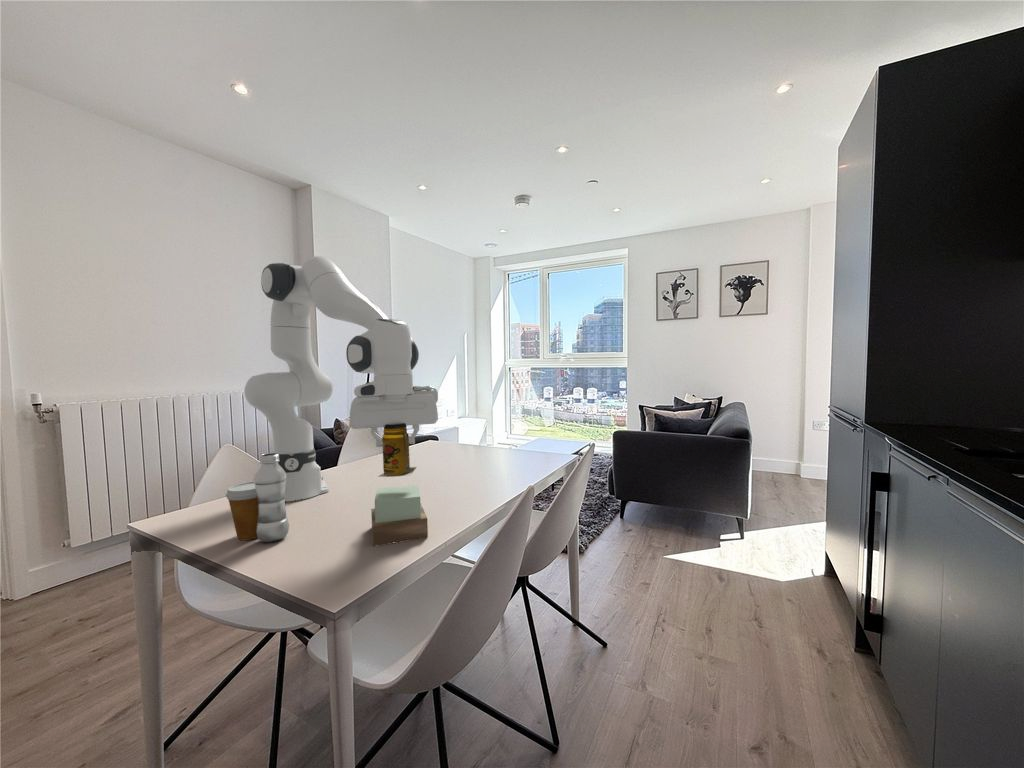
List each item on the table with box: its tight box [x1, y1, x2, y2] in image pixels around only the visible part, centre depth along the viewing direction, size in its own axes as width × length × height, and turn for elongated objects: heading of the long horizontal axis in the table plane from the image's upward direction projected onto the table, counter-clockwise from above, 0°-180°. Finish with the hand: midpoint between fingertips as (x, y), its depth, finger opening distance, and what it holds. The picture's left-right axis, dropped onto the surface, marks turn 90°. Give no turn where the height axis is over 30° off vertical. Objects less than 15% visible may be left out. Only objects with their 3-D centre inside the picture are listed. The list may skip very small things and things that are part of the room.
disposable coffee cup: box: [225, 480, 258, 541], centre depth 100 cm, size 10×10×12 cm
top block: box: [374, 484, 421, 523], centre depth 100 cm, size 10×10×5 cm
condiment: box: [377, 423, 417, 478], centre depth 99 cm, size 7×8×12 cm
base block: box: [370, 502, 429, 547], centre depth 100 cm, size 12×12×5 cm
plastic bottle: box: [253, 452, 290, 543], centre depth 97 cm, size 6×7×20 cm
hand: (395, 445), depth 99 cm, fingers closed on condiment, 6 cm apart
